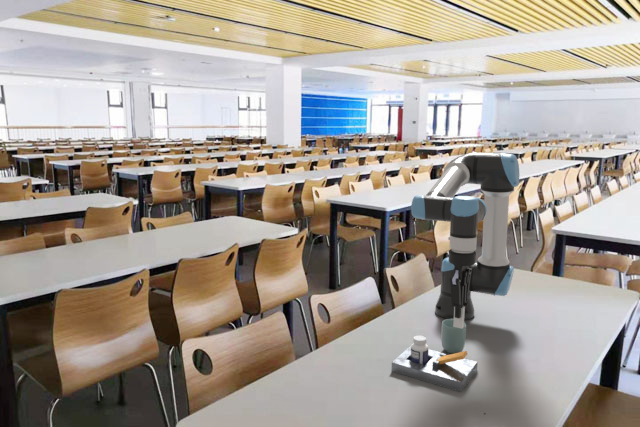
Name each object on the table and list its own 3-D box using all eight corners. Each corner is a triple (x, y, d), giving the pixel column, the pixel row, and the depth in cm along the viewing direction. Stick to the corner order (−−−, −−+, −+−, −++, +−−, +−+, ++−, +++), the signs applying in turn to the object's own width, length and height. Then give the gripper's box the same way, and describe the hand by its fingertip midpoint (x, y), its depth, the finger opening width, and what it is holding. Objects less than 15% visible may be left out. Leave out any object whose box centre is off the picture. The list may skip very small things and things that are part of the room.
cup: (448, 357, 169) (449, 329, 167) (436, 347, 176) (437, 320, 174) (469, 354, 171) (470, 326, 169) (456, 344, 178) (458, 317, 176)
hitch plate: (411, 353, 172) (411, 339, 171) (476, 370, 160) (477, 356, 159) (391, 371, 160) (391, 356, 159) (460, 392, 148) (461, 376, 147)
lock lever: (439, 360, 161) (438, 356, 161) (468, 354, 155) (466, 349, 155) (434, 366, 157) (432, 362, 157) (463, 360, 152) (461, 355, 152)
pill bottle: (425, 362, 165) (426, 334, 164) (429, 370, 160) (430, 341, 158) (408, 363, 165) (409, 334, 163) (412, 371, 160) (413, 341, 158)
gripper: (457, 243, 156) (453, 317, 160) (441, 253, 145) (438, 331, 150) (482, 247, 152) (477, 322, 156) (468, 257, 141) (463, 337, 146)
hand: (458, 326), depth 153 cm, fingers closed
